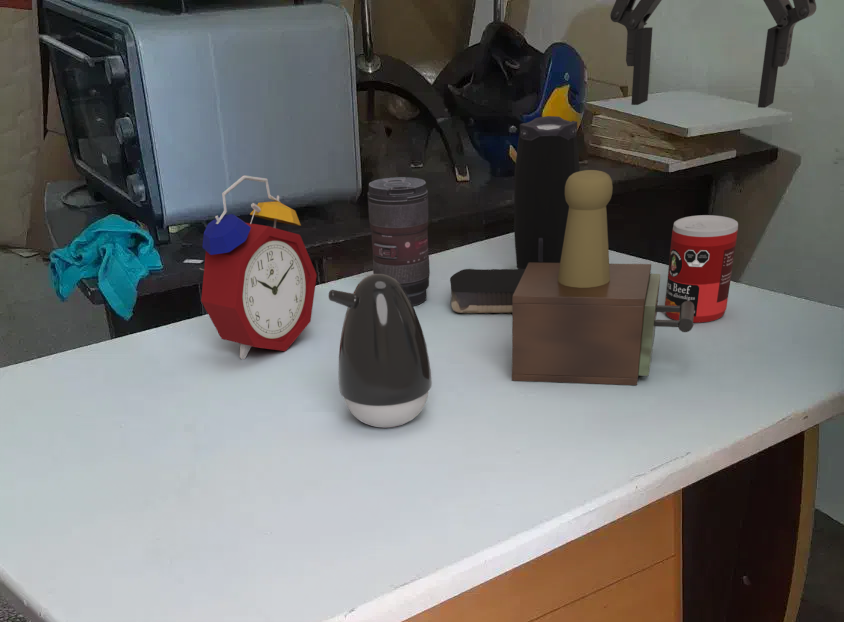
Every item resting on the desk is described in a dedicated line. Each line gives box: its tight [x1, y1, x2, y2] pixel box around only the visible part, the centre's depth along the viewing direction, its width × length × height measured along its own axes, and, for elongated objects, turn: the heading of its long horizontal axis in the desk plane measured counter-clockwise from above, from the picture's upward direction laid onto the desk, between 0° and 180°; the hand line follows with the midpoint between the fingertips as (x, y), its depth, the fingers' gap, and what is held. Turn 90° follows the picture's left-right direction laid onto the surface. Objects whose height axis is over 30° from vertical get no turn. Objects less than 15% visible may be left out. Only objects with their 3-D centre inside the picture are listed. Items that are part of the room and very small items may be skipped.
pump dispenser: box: [328, 274, 433, 429], centre depth 108 cm, size 10×10×15 cm
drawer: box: [638, 273, 694, 377], centre depth 119 cm, size 18×11×8 cm, turn 77°
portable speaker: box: [513, 115, 581, 269], centre depth 143 cm, size 9×9×20 cm
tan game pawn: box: [558, 169, 614, 288], centre depth 113 cm, size 6×6×11 cm
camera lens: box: [367, 176, 431, 307], centre depth 139 cm, size 8×8×15 cm
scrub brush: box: [449, 268, 525, 314], centre depth 139 cm, size 16×8×4 cm, turn 80°
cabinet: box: [511, 262, 652, 386], centre depth 120 cm, size 15×13×10 cm
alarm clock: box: [198, 174, 318, 361], centre depth 126 cm, size 15×9×20 cm, turn 143°
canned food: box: [664, 214, 739, 324], centre depth 130 cm, size 8×8×11 cm
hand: (700, 104), depth 106 cm, fingers open, 13 cm apart
